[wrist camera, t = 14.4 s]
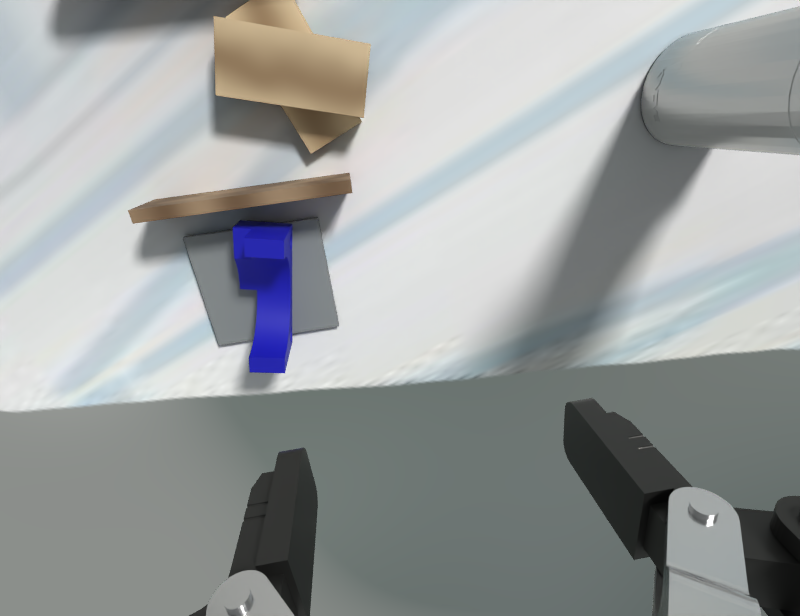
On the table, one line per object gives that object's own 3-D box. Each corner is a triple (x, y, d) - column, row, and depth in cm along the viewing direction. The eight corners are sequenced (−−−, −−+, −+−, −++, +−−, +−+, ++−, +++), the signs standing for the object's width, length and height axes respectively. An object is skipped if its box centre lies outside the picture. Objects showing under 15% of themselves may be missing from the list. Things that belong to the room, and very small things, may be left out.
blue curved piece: (240, 220, 38) (223, 236, 33) (292, 223, 39) (284, 240, 33) (245, 339, 43) (231, 371, 37) (292, 341, 43) (284, 372, 38)
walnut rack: (310, -69, 31) (305, -102, 27) (351, 184, 38) (352, 192, 34) (68, -45, 30) (20, -74, 25) (158, 211, 37) (132, 223, 33)
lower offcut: (285, -15, 33) (281, -23, 31) (361, 121, 37) (362, 121, 35) (232, 22, 33) (225, 16, 32) (312, 152, 38) (311, 153, 36)
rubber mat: (317, 217, 39) (317, 218, 39) (338, 323, 44) (338, 326, 43) (185, 236, 39) (182, 238, 38) (220, 342, 43) (218, 345, 43)
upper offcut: (221, 22, 32) (213, 15, 30) (369, 48, 33) (370, 44, 31) (223, 96, 34) (215, 95, 32) (362, 117, 35) (363, 117, 33)
